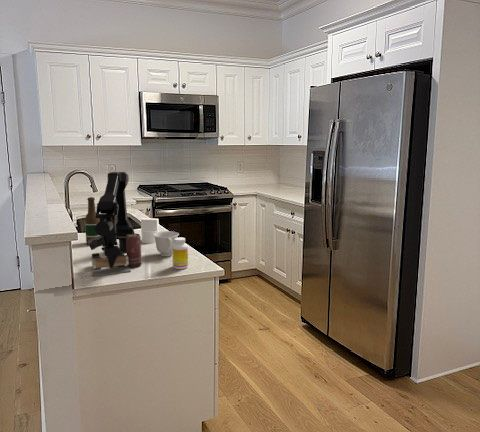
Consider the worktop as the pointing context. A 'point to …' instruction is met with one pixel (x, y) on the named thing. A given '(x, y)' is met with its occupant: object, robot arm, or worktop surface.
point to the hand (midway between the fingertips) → (110, 266)
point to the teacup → (165, 242)
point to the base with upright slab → (149, 229)
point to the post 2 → (121, 255)
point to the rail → (105, 263)
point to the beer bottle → (91, 220)
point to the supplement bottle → (180, 253)
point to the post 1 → (95, 256)
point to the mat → (110, 271)
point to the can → (133, 250)
